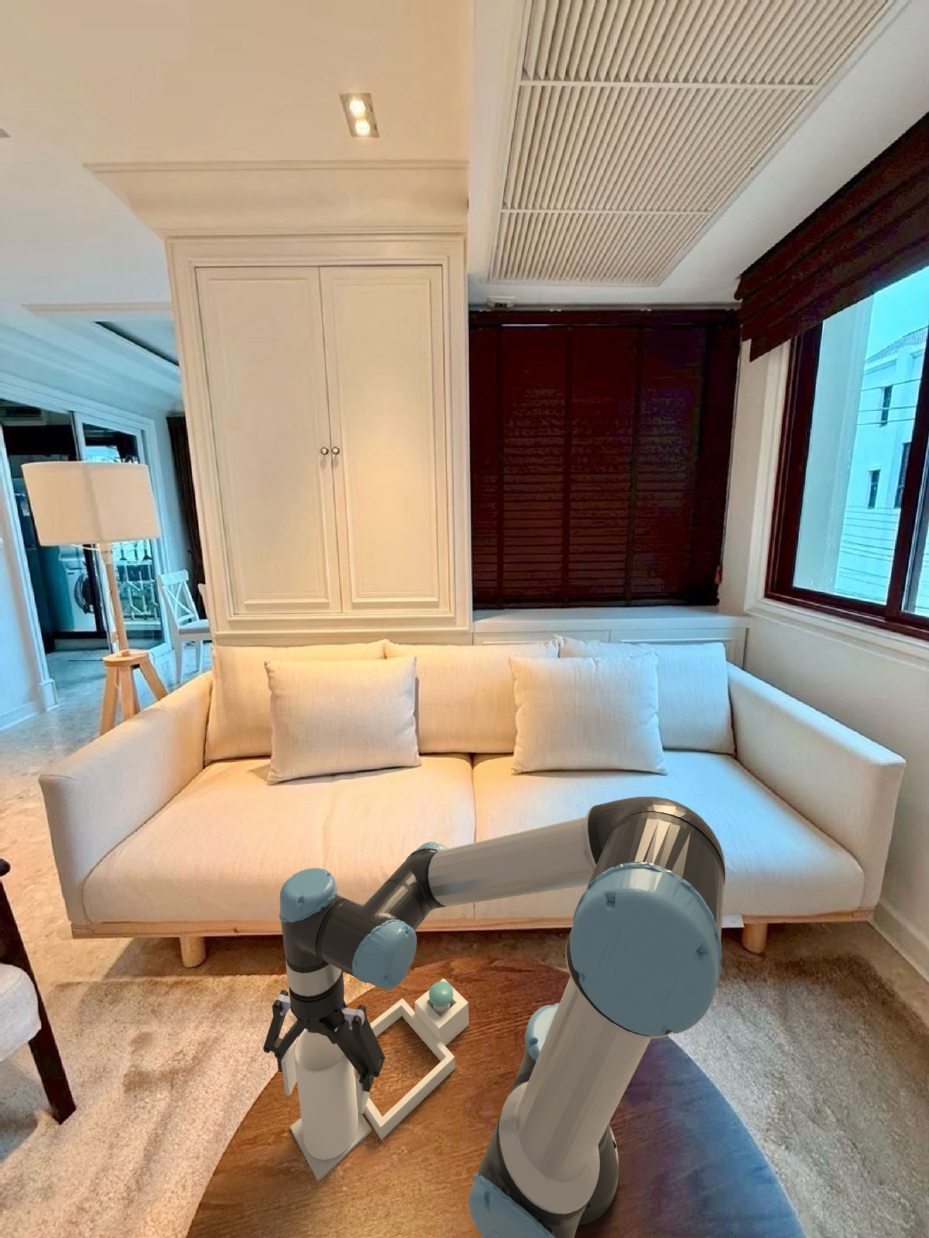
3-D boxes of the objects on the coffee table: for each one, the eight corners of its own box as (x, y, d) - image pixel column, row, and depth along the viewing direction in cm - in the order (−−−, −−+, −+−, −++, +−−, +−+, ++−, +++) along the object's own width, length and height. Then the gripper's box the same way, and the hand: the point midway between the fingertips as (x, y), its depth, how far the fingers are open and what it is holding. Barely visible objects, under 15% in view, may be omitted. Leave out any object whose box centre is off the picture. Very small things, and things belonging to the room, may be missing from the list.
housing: (483, 1040, 94) (483, 1017, 93) (381, 1139, 80) (379, 1114, 78) (431, 986, 105) (430, 965, 104) (332, 1065, 90) (330, 1041, 89)
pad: (371, 1131, 81) (371, 1128, 81) (318, 1182, 75) (317, 1179, 75) (342, 1085, 87) (341, 1083, 87) (290, 1128, 81) (290, 1126, 81)
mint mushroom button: (458, 1013, 96) (458, 992, 95) (440, 1029, 94) (439, 1007, 93) (443, 997, 100) (442, 977, 99) (425, 1012, 97) (424, 991, 96)
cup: (349, 1088, 86) (342, 1008, 83) (365, 1138, 79) (358, 1053, 76) (298, 1116, 82) (288, 1033, 79) (310, 1172, 75) (300, 1084, 72)
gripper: (402, 966, 76) (409, 1084, 80) (257, 941, 81) (271, 1053, 85) (384, 1014, 69) (392, 1141, 73) (226, 983, 74) (243, 1104, 78)
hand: (327, 1094), depth 79 cm, fingers open, 11 cm apart
